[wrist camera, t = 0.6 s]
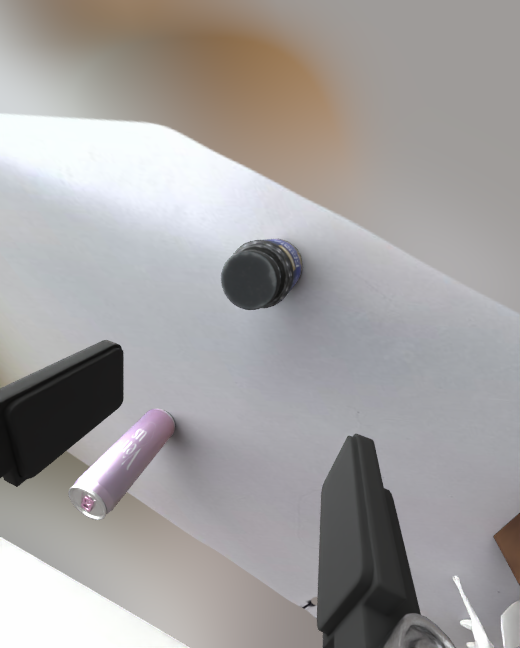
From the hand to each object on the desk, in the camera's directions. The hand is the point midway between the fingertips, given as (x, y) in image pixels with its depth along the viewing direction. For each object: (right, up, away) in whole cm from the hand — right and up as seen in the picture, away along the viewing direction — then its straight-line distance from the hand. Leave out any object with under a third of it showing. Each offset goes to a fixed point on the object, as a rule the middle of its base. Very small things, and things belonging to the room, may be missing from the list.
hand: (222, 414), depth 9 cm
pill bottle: (+4, +11, +20) cm, 23 cm away
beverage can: (-16, -14, +34) cm, 40 cm away
